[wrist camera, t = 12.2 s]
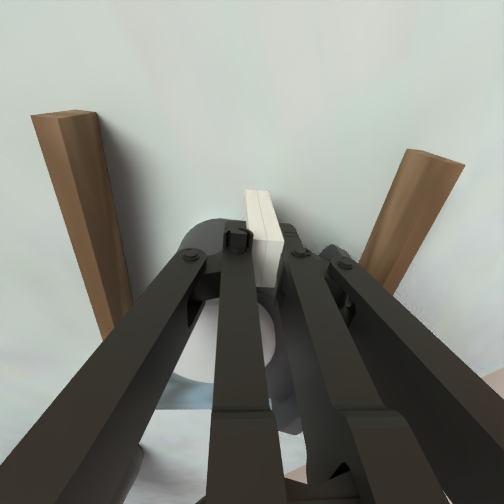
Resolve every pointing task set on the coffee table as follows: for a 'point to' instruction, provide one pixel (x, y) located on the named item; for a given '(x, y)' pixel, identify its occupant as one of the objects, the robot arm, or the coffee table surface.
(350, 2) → the coffee table surface
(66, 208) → the bay
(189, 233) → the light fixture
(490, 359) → the coffee table surface
